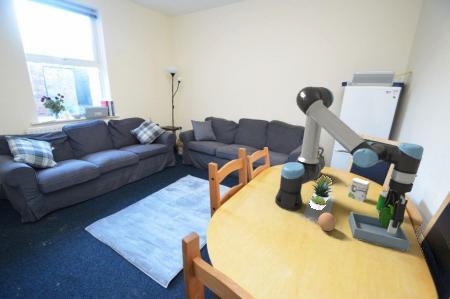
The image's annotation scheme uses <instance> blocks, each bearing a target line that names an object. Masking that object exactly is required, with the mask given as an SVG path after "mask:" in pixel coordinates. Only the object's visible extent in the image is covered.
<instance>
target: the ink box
mask: <svg viewBox="0 0 450 299" xmlns="http://www.w3.org/2000/svg"><path fill="white" fill-rule="evenodd" d="M370 184H371V183H370V181H367V180H366V179H365V180H364V179H362V178H358V177H354V178H351V183H350V187H349V190H348V194H347V197H349V198H351V199H355V200H357V201H358V202H362V203H363V202H365V201H366V200H367V195H368V193H369V189H370Z"/></svg>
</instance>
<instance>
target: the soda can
mask: <svg viewBox="0 0 450 299" xmlns="http://www.w3.org/2000/svg"><path fill="white" fill-rule="evenodd" d="M388 191H389V190H384V189H383V190H382V191H380V192H379V196H378V199H377V203H376V207H375V210H376V211H377V213H378V214H380V210H381V208H386V207H385V204H384V201H385V199H386V196H387V193H388ZM393 207H394V206H393ZM390 209H391V208H390Z"/></svg>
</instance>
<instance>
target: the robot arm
mask: <svg viewBox="0 0 450 299" xmlns="http://www.w3.org/2000/svg"><path fill="white" fill-rule="evenodd" d="M296 95H297V96H296V99H295V101H296V105H297V107H298V109H299V110H300V111H301V112H302V113H303V114H304V115H305V116H306V118H305V125H304V133H303V140H302V145H301V151H300V152H301V156H300V155H299V156H300V157H299V156H298V157H297V159H298V160H297V162H296V161H293V162H292V161H290V162H286V163H284V164H283V165H282V167H281V172H280V181H279V182H280V183H279V189H278V191H277V194H276V195H275V198H274V203H275V204H276V205H277V206H278V207H280V208H282V209H284V210H288V211H297V210H300V209H302V208H303V203H304V202H303V198H302V187H303V185H304V184H307V183H309V182H312V181H313V182H314V181H315V180H316V179H317V178H319V177H320V175H321V173H322V170H321V168H320V166H319V161H318V159H317V152H318V151H319V149H318V146H319V145H320V141H321V140H320V139H321V133H322V129H323V130H324V131H326V132H327V133H328V134H329V135H330V136H331V137H332V138H333V139H334V140H335V141H336V142H337V143H338V145H339V144H340V146H342V147H343V148H344V149H345V150H346V151H347V152H348V153H349V154H350V155H351V156H352V161H353V163H354V164H355V166H357V167H359V168H364V169H365V168H371V167H372V166H373V167H374V166H375V165H376V164H378V163H381V162H382V163H386V164H391V165H393V167H392V171H391V175H390V179H389V182H388V187H389V188H388V190H387V191H388V193H387V196H386V199H385V201H384V204H385V207H386V208H390V207H388V205H391V206H392V207H393V206H394V207H393V218H390V220H391V221H390V224H389V227H388V231H387V232H388V233H393V234H396V231H397V228H398V225H399V222H400V223H402V224H404V221H403V218H404V219H405V212H406V208H407V205H408V202H409V201H408V199H406V194H407V193H411V192H412V190H413V187H414V183H415V180H416V177H418V175H417V173H418V170H419V168H420V165H421V163H422V162H421V161H422V159H423V155H424V150H425V148H424V147H423V146H422V145H419V144H416V143H411V142H410V143H409V142H402V143H400V145H399V146H394V145H389V144H385V143H379V142H376V141H375V142H374V141H366V140H365V139H364V138H362V137H361V135H359V134H358V133H357V132H355V130H353V129H352V128H351V127H350V126H348V125H347V124H346V123H345V122H344V121H343V120H342V119H341V118H340V117H338V115H336V114H335V113H334V112H332V111H331V110H330V109H329V108H330V107H331V106H332V105H333V104H334V98H335V97H334V94H333V91H331V89H330V88H327V87H324V86H306V87H303V88H301V89H300V90H299V92H298V93H297V94H296ZM319 147H320V146H319Z"/></svg>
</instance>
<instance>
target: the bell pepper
mask: <svg viewBox="0 0 450 299" xmlns="http://www.w3.org/2000/svg"><path fill="white" fill-rule="evenodd" d="M388 207H390V208H391V209H390V208H381V210H380V213H378V214H379V215H378V218H379V221H380V224H381V226H382V227H383V228H385V229H387V230H388V227H389V224H390V221H391V220H390V218H393V207H392V206H391V205H388ZM404 220H405V217H404V218H403V222H404ZM402 225H403V223H400V222H399V225H398V228H399V227H400V226H401V227H402ZM398 228H397V229H398Z"/></svg>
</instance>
